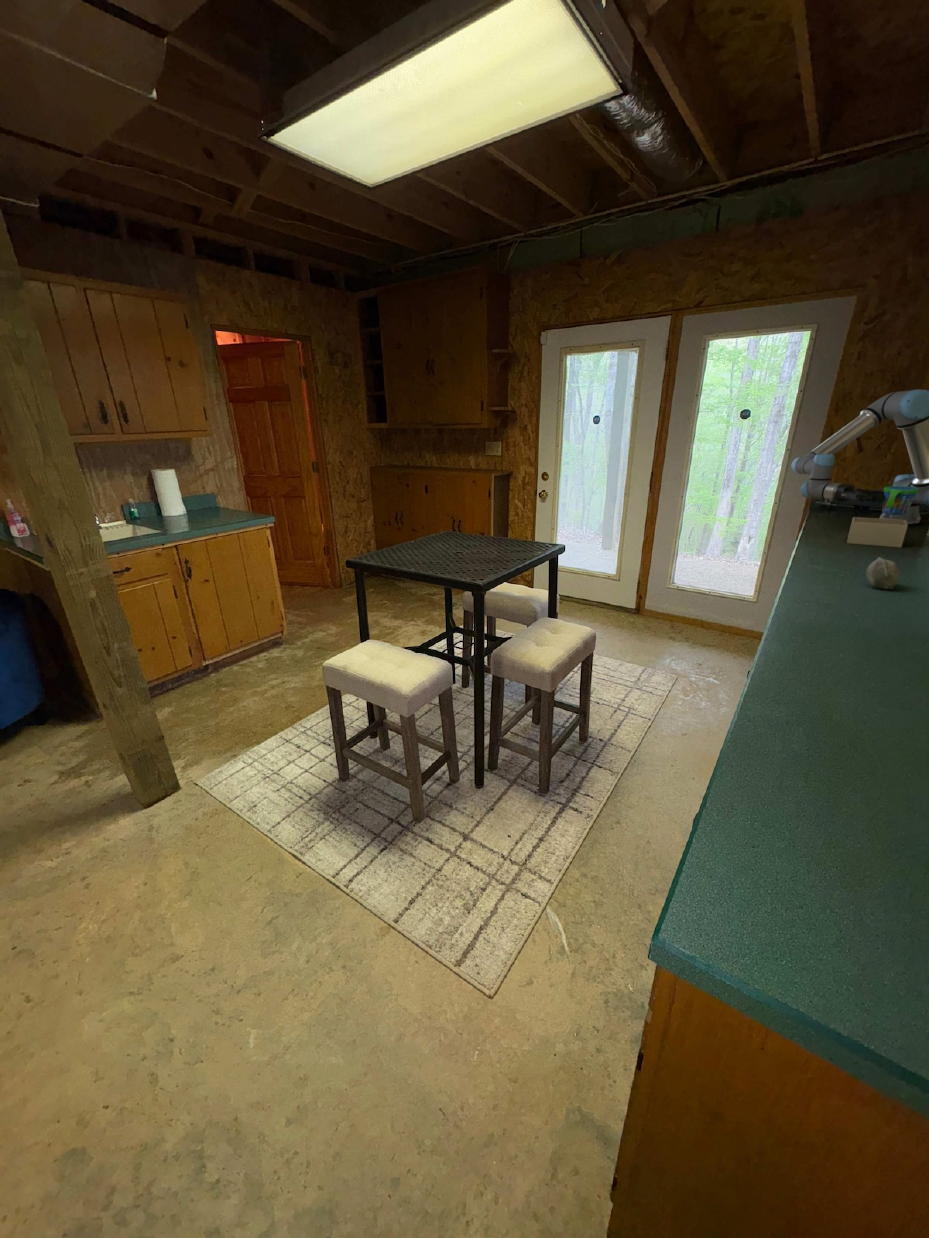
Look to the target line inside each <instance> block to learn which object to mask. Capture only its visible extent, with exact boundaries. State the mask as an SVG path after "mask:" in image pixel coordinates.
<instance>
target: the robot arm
mask: <svg viewBox="0 0 929 1238" xmlns="http://www.w3.org/2000/svg"><path fill="white" fill-rule="evenodd" d="M888 421H894V424H895V427H896V429H898V430H901V431H902V434H903V437H904V442H905V445H906V448H907V452H908V456H909V459H910V460H909V461H910V463H911V467H912V471H913V474H912V473H911V474H898V475H896V476H895V478H894V481H893V482H892V486H905V487H915V488H918V489H919V492H918V493H917V494H916V495H915V497H914V500H913V502H912V504H911V505H910V507H909V509H908V511H907V513H906V514H903V515H891V514H886V513H883V512H882V513H881V515H880V516H879V519H897V520H906V521H907V524H908V526H917V525H919V524H920V521H921V519H922V518H923V517H924V518H925V517H928V515H927V514H920V505H925V506H929V390H927V389H919V388H918V389H911V390H901V391H899V390H898V391H893V392H890V393H887V394H885V395H884V396H882V397H879V399H876V400H874V401H873V402H872V403H870V404H869V405H868V406H867V407H865V408H864V409H863V410H861V411H860V413H859V415H858V416H857V417H855V418H854V419H853V420H852V421H850V422H849V423H847V424H846V425H845V426H843V427H841V429H839V430H838V431H837V432H835V433H834V434H832V435H830V437H828V438H827V439H826V440H824V441H823V442H822V443H820V444H819V445H818V446H816V447H815V448H814V449H812V450H811V451H809V452H808V453H807V454H805V455H803V456H798V457H796V458H795V459H793V461H792V463H791V465H790V466H791V467H790V468H791V470H792V471H793V472H794V473H796V474H799V475H810V476H809V480H807V481H805V482H804V483H803V484H802V486H801V487H800V495H801V496H802V497H804V498H808V499H814V500H825V501H828V502H830V503H832V502H833V501H835V502H836V501H837V502H843V503H846V502H848V501H850V500H852V501H853V500H854V501H857V502H858V501H859V503H864V502H875V503H876V502H877V503H883V502H884V500H885V496H886V495H884V489H866V488H865V489H864V488H862V489H861V488H855V487H854V485H853V484H852V483H842V482H830V480H831V476H832V472H833V468H834V466H835V457H836V456H835V455H836V454H837V453H839V451H841V450H842V449H844V448H845V447H846V446H848V445H849V444H851V443H852V442H853V441H855V440H856V439H857V438H859V437H860V436H862V435H863V434H864V433H866V432H867V431H868V430H870V429H871V428H877V427H878V426H879V425H881V424H883V423H885V422H888Z"/></svg>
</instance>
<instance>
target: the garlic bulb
mask: <svg viewBox="0 0 929 1238" xmlns="http://www.w3.org/2000/svg"><path fill="white" fill-rule="evenodd" d="M898 567H899V566H898V565H897V563H896V562H894V561H892V560H889V559H884V558H883V557H877V558H876V559H875V560H874V561H872V562H871V563H870V564H869V565H868V566H867V568H866V572H865V576H866V577H865V578H866V579H867V581H868V583H869V586H870V587H871V588H874V589H880V590H893V589H894V586H895V585H896V584H897V583H898V580H899V578H900V577H899V576H900V571H899V569H898Z"/></svg>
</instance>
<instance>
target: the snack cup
mask: <svg viewBox="0 0 929 1238" xmlns="http://www.w3.org/2000/svg"><path fill="white" fill-rule="evenodd" d="M883 490H884V495H886V496H885V500H884V502H882V509H881V511H882V513H886V514H891V515H903V514H906V513H907V511H908V509H909V507H910V505H911V504H912V502H913V500H914V497H915V495H916V494H917V493H918V492H919V489H918V488H915V487H905V486H893V485H890V486H889V485H888V486H884V488H883Z"/></svg>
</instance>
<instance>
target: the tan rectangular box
mask: <svg viewBox="0 0 929 1238" xmlns="http://www.w3.org/2000/svg"><path fill="white" fill-rule="evenodd" d="M879 518H880V517H879ZM879 518H878V517H860V516H853V517H852V519H851V524H850V528H849V532H848V535H847V540H846V544H853V545H864V546H865V545H866V546H878V547H888V548H890V547H891V548H902V547H903V544H904V540H905V537H906V534H907V529H908V528H909V527H908V526H909V525H908V524H907V521H906V520H897V519H879Z"/></svg>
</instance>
